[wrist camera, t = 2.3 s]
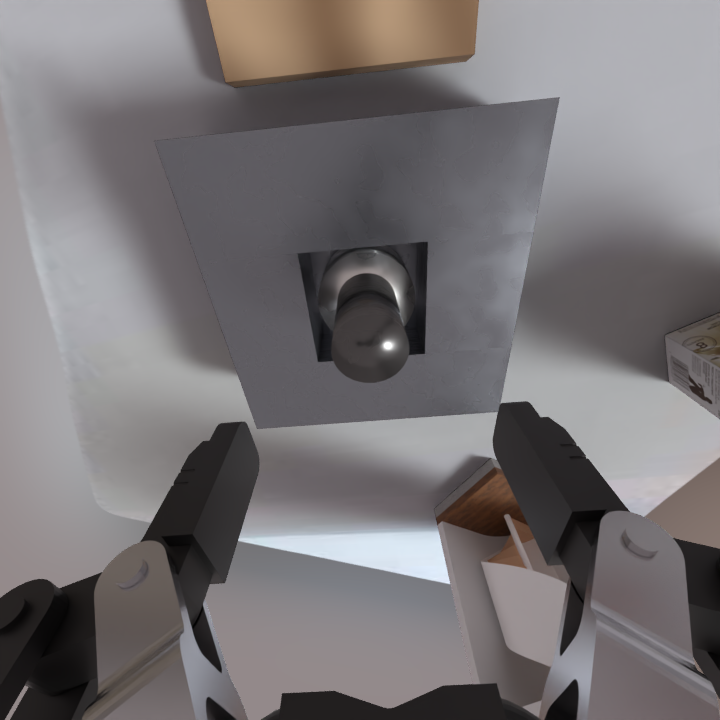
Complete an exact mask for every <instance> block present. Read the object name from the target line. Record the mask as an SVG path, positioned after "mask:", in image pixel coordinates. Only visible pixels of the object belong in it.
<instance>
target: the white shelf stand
mask: <svg viewBox="0 0 720 720" xmlns="http://www.w3.org/2000/svg"><path fill="white" fill-rule="evenodd" d="M434 511H435V516H436V520H437V525H438V529H439V534H440V539H441V543H442V548H443V552H444V557H445V561H446V566H447V570H448V575H449V579H450V584H451V588H452V593H453V598H454V602H455V607H456V611H457V616H458V620H459V625H460V629H461V634H462V638H463V643H464V647H465V652H466V656H467V661H468V666H469V670H470V675H471V679H472V684H490V683H497V686H498V689H499V693H500V697H501V698H502V699H505V700H508V701H511V702H513V703H515V704H517V705H519V706H521V707H523V708H525V709H526V710H528V711H529V712H531V713H532V714H534V715H535V716H537V717H538V718H539V713H540V707H541V702H542V697H543V692H544V688H545V684H546V681H547V677H548V674H549V672H550V669H551V666H552V663H553V659H554V654H555V649H556V643H557V638H558V632H559V626H560V621H561V615H562V610H563V604H564V598H565V593H566V587H567V582H568V579H569V577H570V576H569V574H568V573H567V571H566V569H565V567H564V565H552V566H547V564H546V562H545V559H544V557H543V555H542V553H541V551H540V549H539V547H538V545H537V543H536V541H535V538H534V536H533V534H532V532H531V530H530V528H529V526H528V524H527V522H526V520H525V517H524V515H523V513H522V511H521V509H520V507H519V505H518V503H517V501H516V498H515V496H514V494H513V492H512V490H511V488H510V486H509V484H508V482H507V480H506V477H505V475H504V473H503V471H502V469H501V467H500V465H499V463H498V461H497V460H494V459H492V458H490V459H489V460H488V461H487V462H486V463H485V464H484V465H483V466H482V467H480V468H479V469H478V470H477V471H476V472H475V473H474V474H473V475H471V476H470V477H469V478H468V479H467V480H466V481H465V482H464V483H463V484H461V485H460V486H459V487H458V488H457V489H456V490H455V491H454V492H453V493H451V494H450V495H449V496H448V497H447V498H446V499H445V500H444V501H442V502H441V503H440V504H439V505H438V506H437V507H436V508H435V509H434Z"/></svg>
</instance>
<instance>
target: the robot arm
mask: <svg viewBox="0 0 720 720" xmlns="http://www.w3.org/2000/svg"><path fill="white" fill-rule="evenodd" d="M493 448H494V453H495V456H496V458H497V461H498V463H499V465H500V467H501V469H502V471H503V473H504V475H505V477H506V480H507V482H508V484H509V486H510V488H511V490H512V492H513V494H514V496H515V498H516V501H517V503H518V505H519V507H520V509H521V511H522V513H523V515H524V517H525V520H526V522H527V524H528V526H529V528H530V530H531V532H532V534H533V536H534V538H535V541H536V543H537V545H538V547H539V549H540V551H541V553H542V555H543V557H544V559H545V562H546V564H547V566H552V565H564V567H565V569H566V571H567V573H568V574H569V576H570V577H569V579H568V582H567V587H566V593H565V598H564V604H563V610H562V615H561V621H560V626H559V632H558V638H557V643H556V649H555V654H554V659H553V663H552V666H551V669H550V672H549V674H548V677H547V681H546V684H545V688H544V692H543V697H542V702H541V707H540V713H539V718H538V717H537V716H535V715H534V714H532V713H531V712H529V711H528V710H526V709H525V708H523V707H521V706H519V705H517V704H515V703H513V702H511V701H508V700H505V699H502V698H501V697H500V693H499V689H498V686H497V683H490V684H471V685H470V684H469V685H450V686H442V687H439V688H437V689H435V690H433V691H430V692H428V693H426V694H424V695H422V696H419V697H417V698H415V699H413V700H411V701H408V702H406V703H404V704H401V705H399V706H397V707H395V708H389V709H387V708H383V707H380V706H377V705H374V704H371V703H368V702H365V701H362V700H359V699H356V698H353V697H350V696H347V695H344V694H342V693H338V692H336V691H325V692H303V693H283V694H282V698H281V706H280V709H278V710H276V711H274V712H272V713H271V714H269V715H268V716H266V717H264V718H263V719H261V720H720V714H719V707H718V701H717V697H716V694H717V695H718V697H719V698H720V549H718V548H713V547H709V546H705V545H700V544H696V543H692V542H687V541H683V540H679V539H675V538H672V537H671V536H670V535H669V534H668V533H667V532H666V531H665V530H664V529H663V528H661V527H660V526H659V525H657V524H656V523H654V522H653V521H651V520H649V519H647V518H645V517H643V516H641V515H638V514H635V513H632V512H630V511H629V510H628V509H627V508H626V507H625V505H624V504H623V503H622V501H621V500H620V499H619V498H618V496H617V495H616V494H615V492H614V491H613V490H612V489H611V487H610V486H609V485H608V484H607V482H606V481H605V480H604V478H603V477H602V476H601V475H600V473H599V472H598V471H597V469H596V468H595V467H594V466H593V464H592V463H591V462H590V460H589V459H586V455H585V454H584V453H583V451H582V450H581V449H580V448H579V446H576V443H575V441H574V440H573V439H572V437H571V436H570V435H569V434H568V432H567V431H566V430H565V429H564V428H563V427H562V426H560V425H559V424H557V423H556V422H554V421H553V420H552V419H550V418H549V417H540V416H539V415H538V413H537V412H536V410H535V409H534V408H533V406H532V405H531V404H530V403H529V402H527V401H525V402H511V403H502V404H500V406H499V409H498V415H497V420H496V425H495V430H494V435H493ZM258 472H259V455H258V452H257V449H256V447H255V444H254V441H253V438H252V436H251V433H250V430H249V428H248V425H247V424H246V422H232V423H221V424H219V425H218V426H217V428H216V429H215V431H214V433H213V435H212V437H211V439H210V441H203V442H202V443H201V444H200V445H199V446H198V447H197V448H196V449H195V450H194V451H193V452H192V453H191V454H190V455H189V456H188V458H187V460H186V462H185V463H184V465H183V467H182V469H181V473H179V474H178V476H177V478H176V480H175V481H174V486H172V487H171V489H170V490H169V492H168V494H167V496H166V498H165V499H164V501H163V503H162V505H161V507H160V508H159V510H158V512H157V514H156V516H155V517H154V519H153V521H152V523H151V525H150V526H149V528H148V530H147V532H146V534H145V536H144V537H143V539H142V540H141V542H140V543H137V544H134V545H132V546H131V547H129V548H127V549H125V550H124V551H122V552H121V553H120V554H119V555H117V556H116V557H115V558H114V559H113V560H112V561H111V562H110V563H109V564H108V565H107V567H106V568H105V569H104V571H103V572H101V573H99V574H96V575H94V576H91V577H88V578H86V579H83V580H81V581H78V582H75V583H72V584H70V585H67V586H65V587H62V588H58V587H56V586H55V585H54V584H53V583H51V582H50V581H48V580H45V579H37V580H32V581H29V582H26V583H24V584H22V585H19V586H18V587H16V588H14V589H12V590H11V591H9V592H8V593H6V594H5V595H3V596H2V597H1V598H0V720H5V718H6V716H7V715H8V713H9V711H10V709H11V708H12V706H13V704H14V703H15V701H16V699H17V697H18V696H19V694H20V692H21V691H22V689H23V687H24V686H25V685H26V686H28V687H29V688H28V690H27V691H26V693H25V694H24V696H23V698H22V700H21V702H20V703H19V705H18V707H17V709H16V711H15V712H14V714H13V716H12V717H11V719H10V720H248V718H247V715H246V712H245V709H244V706H243V704H242V701H241V699H240V696H239V694H238V692H237V690H236V688H235V687H234V684H233V682H232V680H231V678H230V676H229V673H228V670H227V668H226V664H225V661H224V658H223V654H222V651H221V648H220V645H219V642H218V639H217V636H216V632H215V629H214V626H213V623H212V620H211V616H210V613H209V610H208V607H207V604H206V601H205V596H206V593H207V590H208V587H209V584H219V583H225V581H226V578H227V575H228V571H229V568H230V565H231V561H232V558H233V555H234V552H235V548H236V545H237V542H238V538H239V535H240V532H241V529H242V525H243V522H244V519H245V515H246V512H247V509H248V505H249V502H250V499H251V496H252V492H253V489H254V486H255V482H256V479H257V476H258ZM693 657H694V659H695V660H696V662H697V664H698V665H699V667H700V668H701V670H702V671H703V673H704V674H702V673H701V672H699V671H698V670H697V669H696V667H695V664H694V660H693ZM715 692H716V693H715Z"/></svg>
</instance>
